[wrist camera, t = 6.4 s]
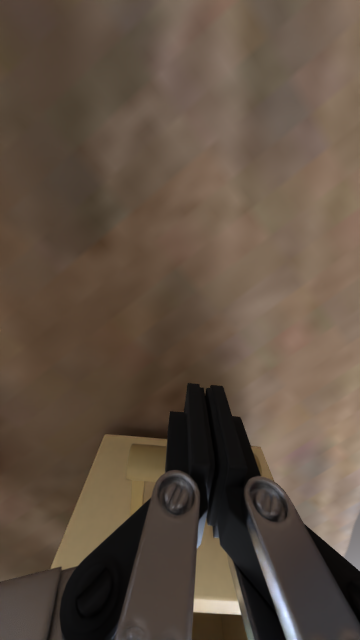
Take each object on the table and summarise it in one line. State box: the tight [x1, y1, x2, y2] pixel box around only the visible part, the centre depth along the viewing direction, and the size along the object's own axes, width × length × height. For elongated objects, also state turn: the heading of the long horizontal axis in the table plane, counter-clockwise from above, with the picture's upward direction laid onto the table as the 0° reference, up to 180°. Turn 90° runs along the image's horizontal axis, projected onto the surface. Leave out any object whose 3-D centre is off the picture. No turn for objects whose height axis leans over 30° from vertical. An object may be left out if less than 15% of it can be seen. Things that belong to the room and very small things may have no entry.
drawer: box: [50, 434, 274, 640], centre depth 13 cm, size 18×11×7 cm, turn 174°
